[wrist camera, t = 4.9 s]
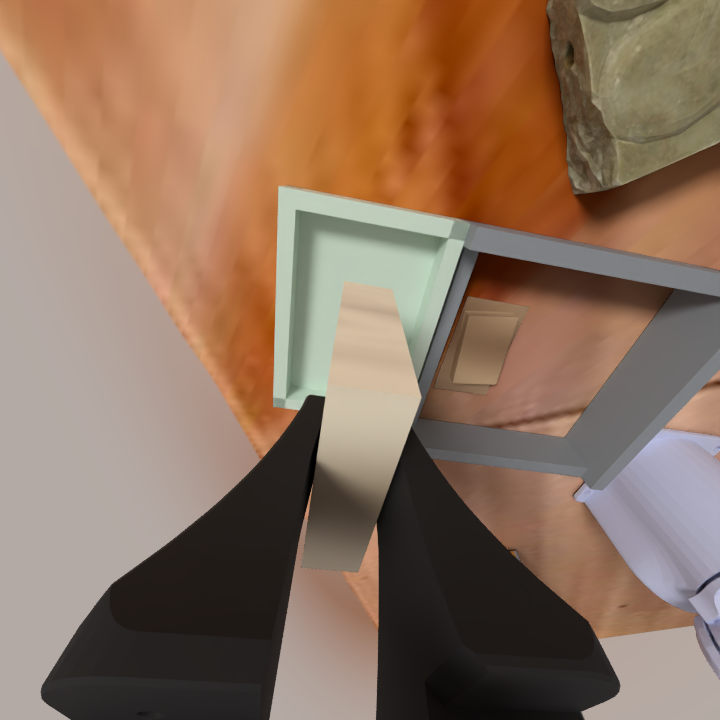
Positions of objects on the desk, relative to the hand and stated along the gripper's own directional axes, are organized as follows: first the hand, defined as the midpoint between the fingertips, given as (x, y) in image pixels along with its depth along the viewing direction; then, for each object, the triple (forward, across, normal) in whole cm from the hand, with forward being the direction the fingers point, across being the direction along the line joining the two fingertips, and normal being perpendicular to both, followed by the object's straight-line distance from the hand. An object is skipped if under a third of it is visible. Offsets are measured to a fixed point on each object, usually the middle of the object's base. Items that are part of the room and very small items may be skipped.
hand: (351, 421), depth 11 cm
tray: (+9, 0, 0) cm, 9 cm away
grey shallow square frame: (+9, -12, +1) cm, 15 cm away
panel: (+4, 0, 0) cm, 4 cm away
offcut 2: (+9, -8, +1) cm, 13 cm away
